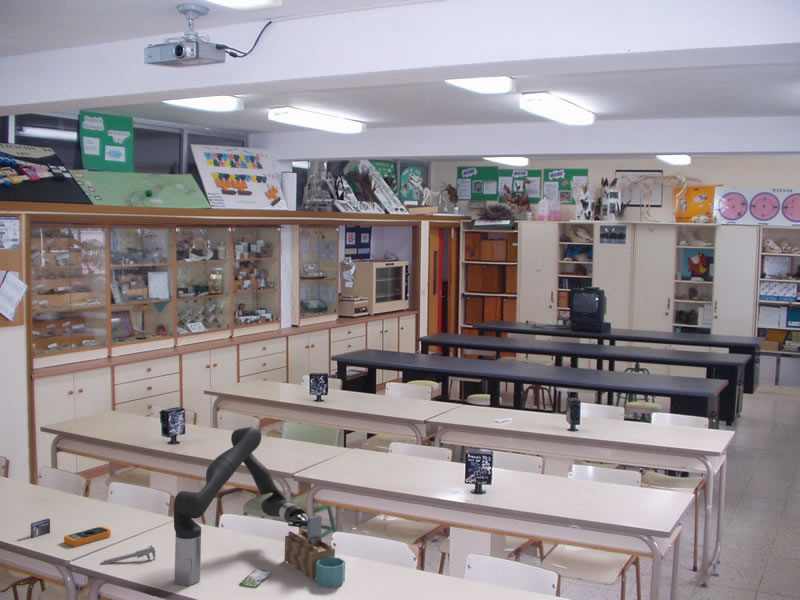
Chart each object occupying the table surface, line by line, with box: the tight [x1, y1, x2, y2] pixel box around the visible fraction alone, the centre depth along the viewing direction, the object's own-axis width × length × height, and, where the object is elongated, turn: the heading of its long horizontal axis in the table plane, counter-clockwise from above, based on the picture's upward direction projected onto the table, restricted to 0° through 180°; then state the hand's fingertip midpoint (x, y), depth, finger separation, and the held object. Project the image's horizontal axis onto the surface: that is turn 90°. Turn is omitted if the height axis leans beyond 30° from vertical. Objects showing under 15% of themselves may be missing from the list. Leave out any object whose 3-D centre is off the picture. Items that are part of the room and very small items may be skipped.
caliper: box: [99, 544, 156, 565], centre depth 314 cm, size 20×1×6 cm, turn 108°
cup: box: [315, 556, 346, 588], centre depth 301 cm, size 10×10×8 cm
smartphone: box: [238, 568, 273, 589], centre depth 301 cm, size 7×1×15 cm
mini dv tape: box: [30, 518, 51, 539], centre depth 340 cm, size 8×2×6 cm, turn 150°
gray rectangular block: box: [306, 514, 323, 546], centre depth 310 cm, size 3×5×11 cm, turn 126°
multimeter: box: [63, 526, 112, 548], centre depth 336 cm, size 9×18×3 cm, turn 143°
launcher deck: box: [283, 528, 336, 580], centre depth 314 cm, size 22×10×12 cm, turn 36°
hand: (312, 526), depth 312 cm, fingers closed
